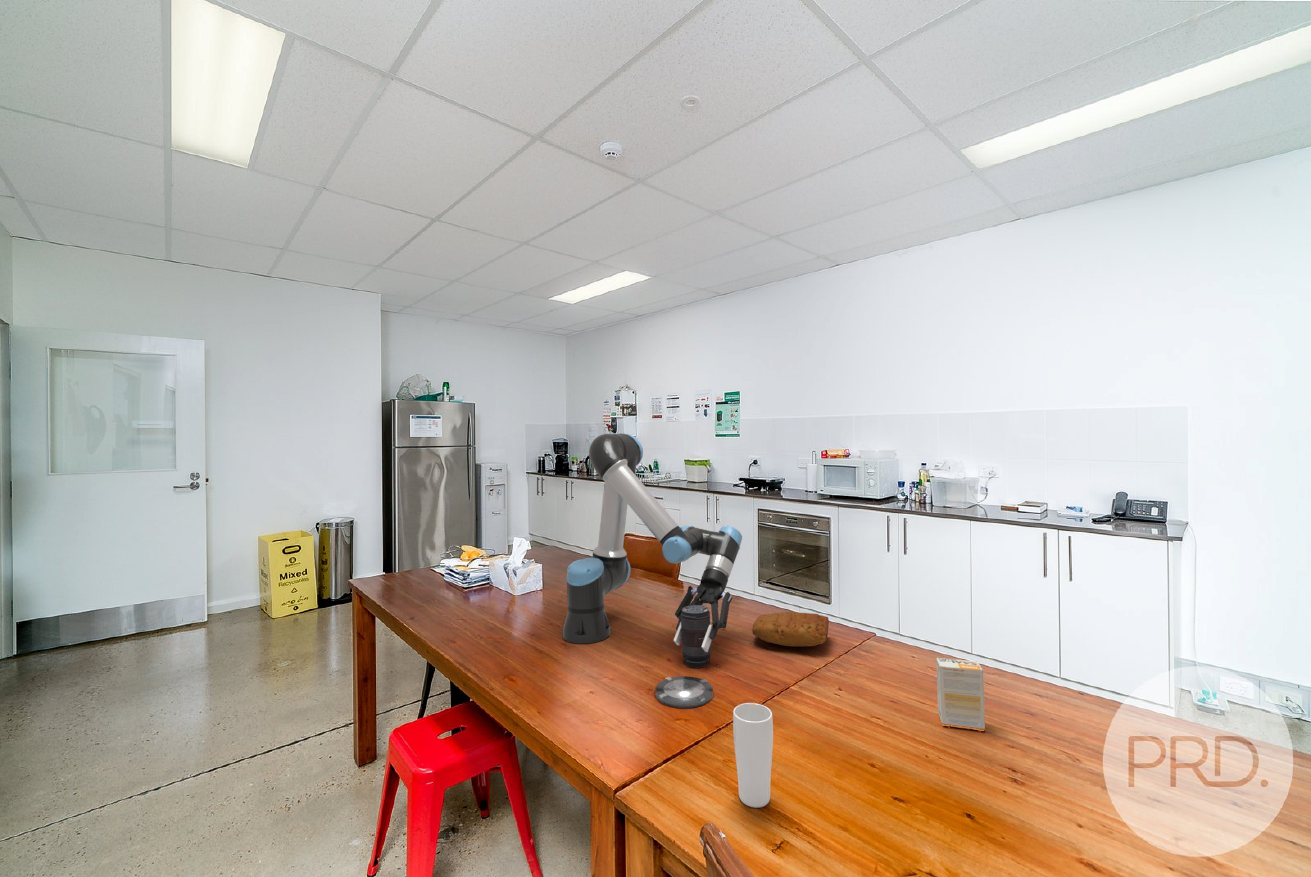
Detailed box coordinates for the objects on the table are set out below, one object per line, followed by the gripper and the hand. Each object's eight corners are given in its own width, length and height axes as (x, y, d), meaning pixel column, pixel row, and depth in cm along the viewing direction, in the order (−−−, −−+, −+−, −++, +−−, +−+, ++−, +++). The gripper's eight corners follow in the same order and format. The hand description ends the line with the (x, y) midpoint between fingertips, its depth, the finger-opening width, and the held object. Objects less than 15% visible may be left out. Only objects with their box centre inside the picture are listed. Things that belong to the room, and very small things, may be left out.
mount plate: (644, 691, 132) (644, 685, 132) (688, 676, 140) (688, 670, 140) (679, 714, 121) (679, 708, 121) (725, 696, 129) (724, 689, 129)
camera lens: (711, 657, 152) (710, 604, 152) (711, 669, 144) (709, 613, 144) (682, 656, 153) (681, 604, 153) (681, 668, 145) (679, 613, 145)
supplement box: (979, 721, 115) (978, 660, 115) (985, 733, 111) (984, 670, 111) (937, 715, 118) (935, 656, 118) (941, 727, 113) (939, 665, 113)
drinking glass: (730, 787, 95) (728, 703, 95) (767, 784, 96) (766, 701, 96) (739, 814, 89) (737, 723, 88) (779, 811, 89) (777, 721, 89)
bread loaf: (833, 638, 164) (832, 612, 164) (825, 660, 148) (825, 631, 148) (761, 629, 173) (761, 604, 173) (747, 648, 158) (747, 621, 158)
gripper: (753, 585, 155) (729, 660, 142) (691, 576, 167) (663, 645, 154) (744, 571, 151) (719, 647, 137) (681, 563, 163) (652, 632, 149)
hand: (690, 646), depth 146 cm, fingers closed on camera lens, 8 cm apart
